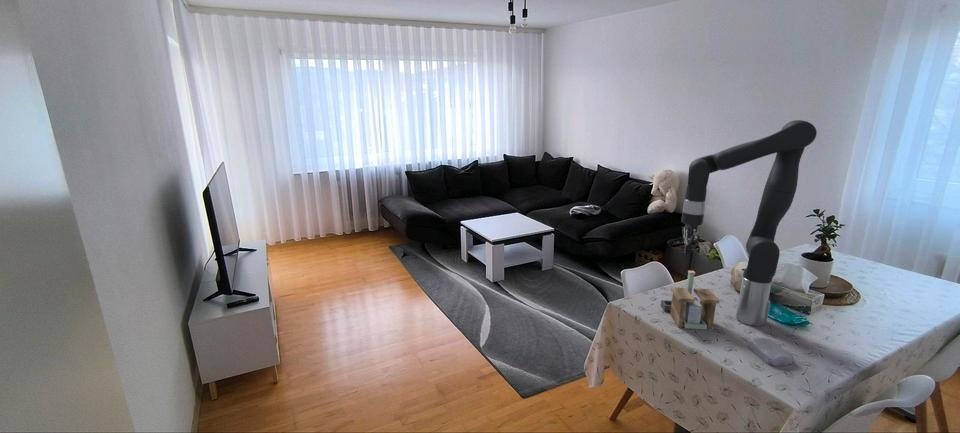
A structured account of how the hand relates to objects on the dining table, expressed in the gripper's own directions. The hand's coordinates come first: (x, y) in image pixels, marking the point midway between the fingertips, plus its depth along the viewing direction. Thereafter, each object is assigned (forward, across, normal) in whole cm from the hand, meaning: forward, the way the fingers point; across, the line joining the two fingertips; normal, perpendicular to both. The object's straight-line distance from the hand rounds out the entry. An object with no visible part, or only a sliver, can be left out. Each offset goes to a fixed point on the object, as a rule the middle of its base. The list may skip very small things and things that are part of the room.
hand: (687, 253), depth 171 cm
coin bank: (+23, +23, -35) cm, 48 cm away
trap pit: (+23, -2, 0) cm, 23 cm away
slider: (+23, -12, 0) cm, 26 cm away
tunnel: (+23, -12, 0) cm, 26 cm away
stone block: (+24, -32, -19) cm, 44 cm away
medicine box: (+23, -12, 0) cm, 26 cm away
